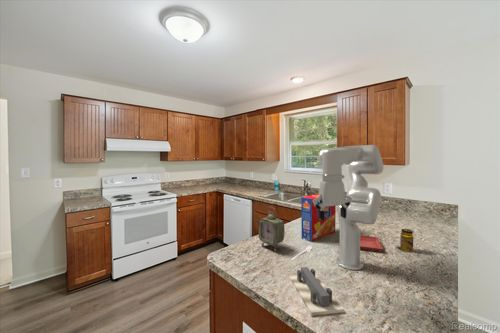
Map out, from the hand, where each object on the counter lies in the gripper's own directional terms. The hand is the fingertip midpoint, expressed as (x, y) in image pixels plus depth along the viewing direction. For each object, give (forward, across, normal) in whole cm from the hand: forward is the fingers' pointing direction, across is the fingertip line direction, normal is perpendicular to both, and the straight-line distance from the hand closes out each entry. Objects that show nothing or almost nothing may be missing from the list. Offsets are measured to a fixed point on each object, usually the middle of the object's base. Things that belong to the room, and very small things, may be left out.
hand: (332, 218), depth 91 cm
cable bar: (+26, +12, +6) cm, 29 cm away
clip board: (+28, +12, +6) cm, 31 cm away
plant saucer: (+31, -38, -34) cm, 59 cm away
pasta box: (+31, -18, -54) cm, 64 cm away
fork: (+30, +4, -28) cm, 41 cm away
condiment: (+31, -57, -24) cm, 69 cm away
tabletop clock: (+29, +18, -39) cm, 52 cm away
